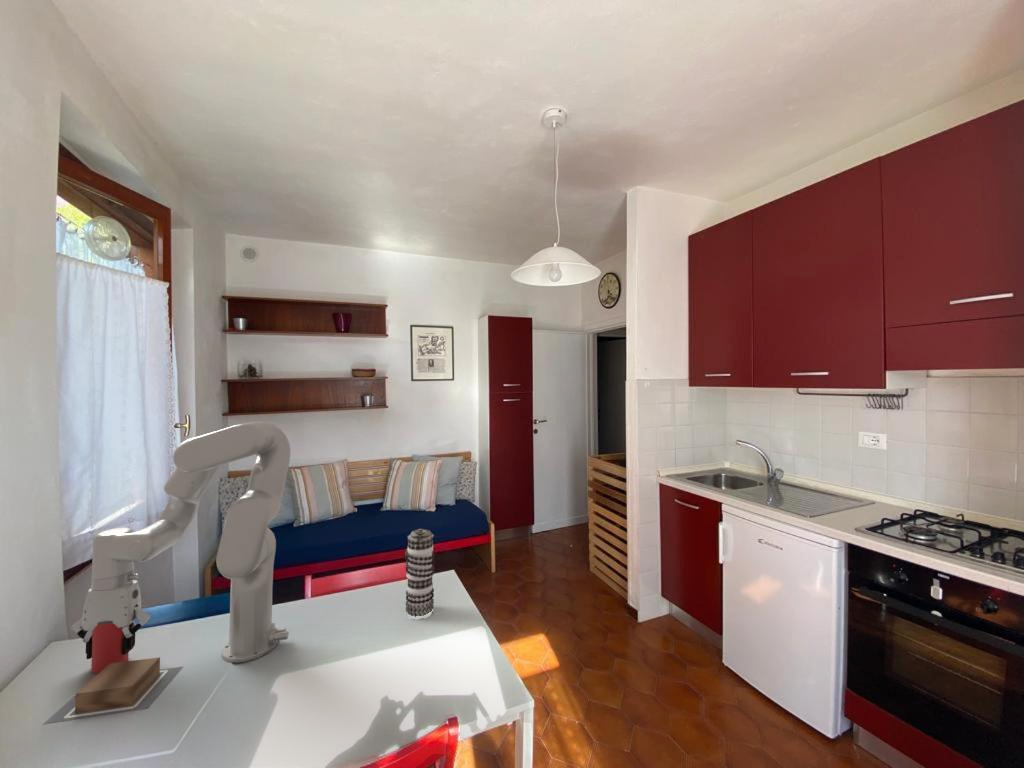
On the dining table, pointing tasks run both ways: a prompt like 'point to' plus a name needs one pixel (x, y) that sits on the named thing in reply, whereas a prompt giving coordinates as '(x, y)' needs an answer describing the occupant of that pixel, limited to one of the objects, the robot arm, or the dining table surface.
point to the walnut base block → (117, 685)
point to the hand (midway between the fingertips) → (110, 652)
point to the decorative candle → (420, 572)
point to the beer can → (106, 646)
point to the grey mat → (141, 703)
